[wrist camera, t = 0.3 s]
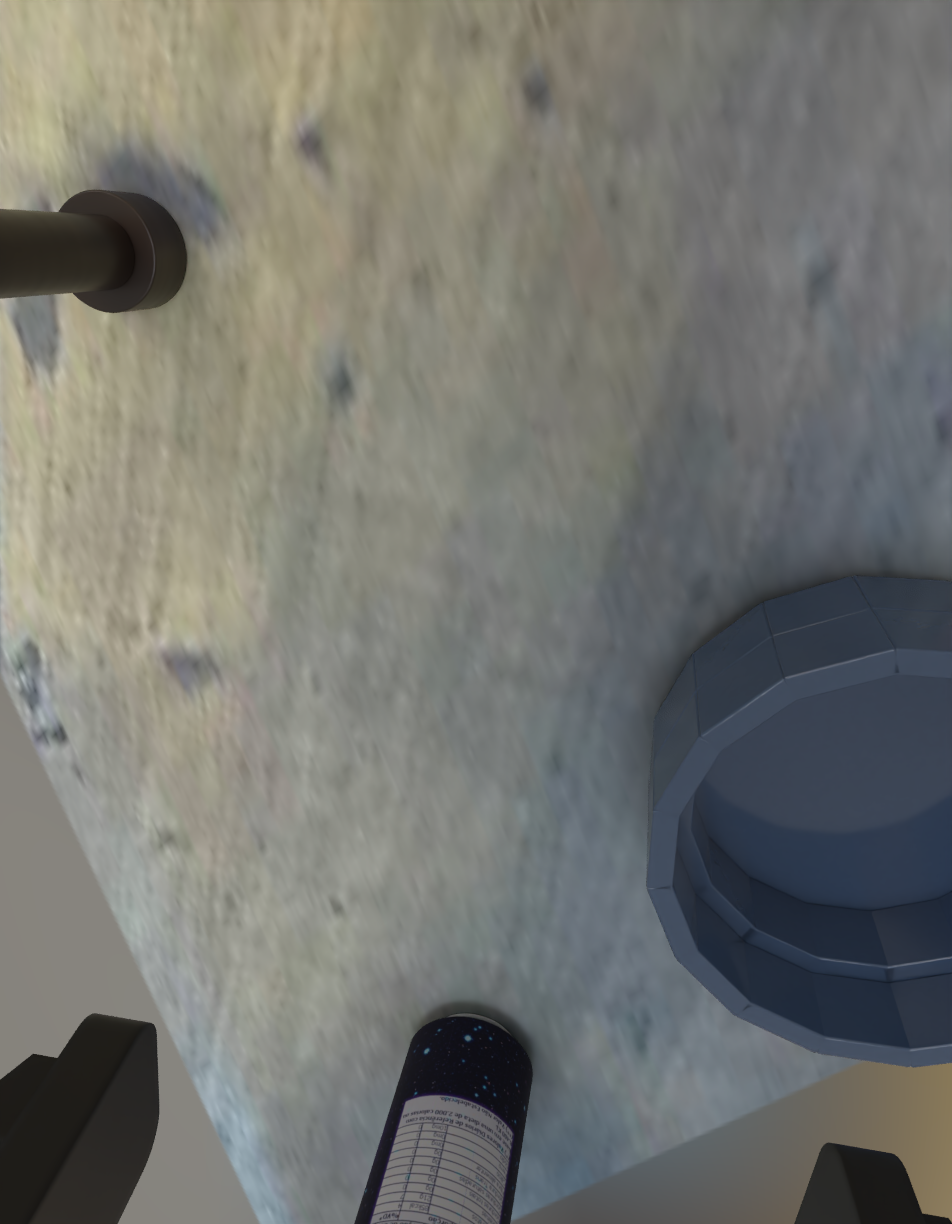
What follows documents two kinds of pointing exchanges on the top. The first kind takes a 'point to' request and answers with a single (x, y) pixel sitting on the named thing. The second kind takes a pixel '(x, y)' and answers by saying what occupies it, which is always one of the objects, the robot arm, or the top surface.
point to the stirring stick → (94, 252)
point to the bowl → (815, 818)
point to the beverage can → (452, 1128)
